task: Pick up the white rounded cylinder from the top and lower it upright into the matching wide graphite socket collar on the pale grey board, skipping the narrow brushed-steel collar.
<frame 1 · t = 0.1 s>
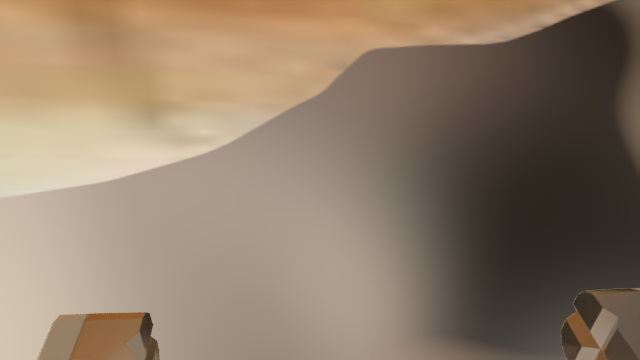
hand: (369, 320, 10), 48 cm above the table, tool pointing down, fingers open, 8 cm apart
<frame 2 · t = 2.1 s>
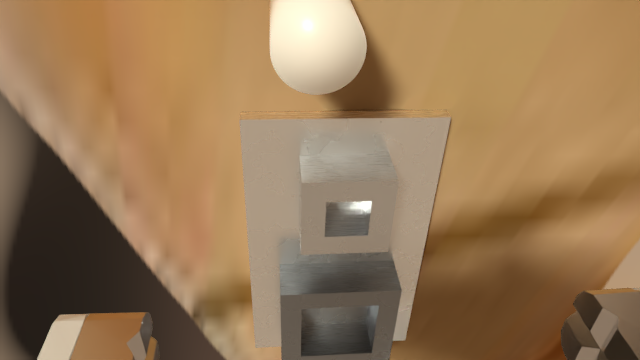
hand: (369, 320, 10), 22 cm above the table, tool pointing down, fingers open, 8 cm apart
fitting board: (336, 241, 38), on the table
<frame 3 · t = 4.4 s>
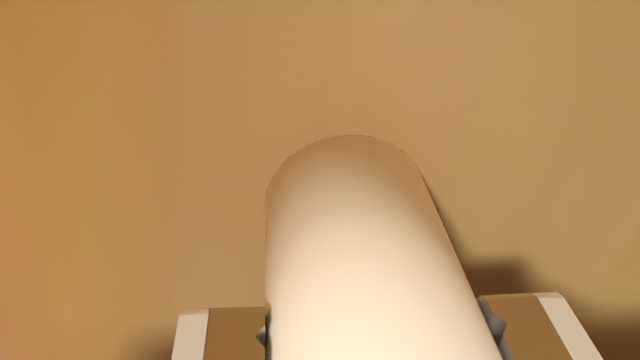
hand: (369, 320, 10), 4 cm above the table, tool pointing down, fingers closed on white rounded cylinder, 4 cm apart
white rounded cylinder: (345, 204, 13), on the table, touching gripper
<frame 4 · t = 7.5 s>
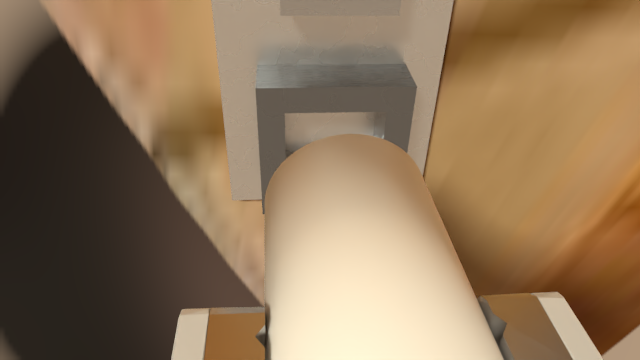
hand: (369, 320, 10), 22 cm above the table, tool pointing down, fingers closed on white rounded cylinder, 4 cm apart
fitting board: (331, 37, 29), on the table
white rounded cylinder: (345, 203, 13), point 19 cm above the table, touching gripper
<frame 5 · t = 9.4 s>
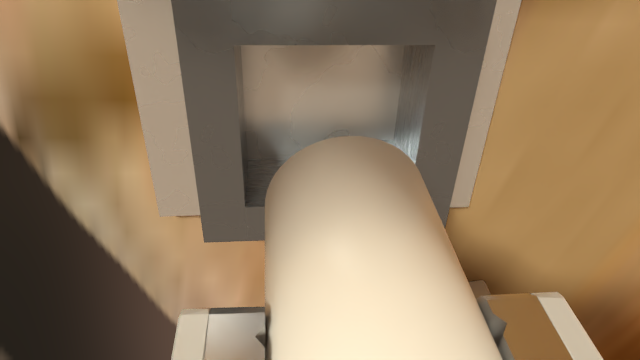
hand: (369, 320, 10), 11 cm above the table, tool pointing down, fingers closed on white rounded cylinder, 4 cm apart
white rounded cylinder: (345, 205, 13), point 8 cm above the table, touching gripper
when the fingers open (6 cm above the table, at t = 11.0 s): white rounded cylinder stays where it is, resting on fitting board.
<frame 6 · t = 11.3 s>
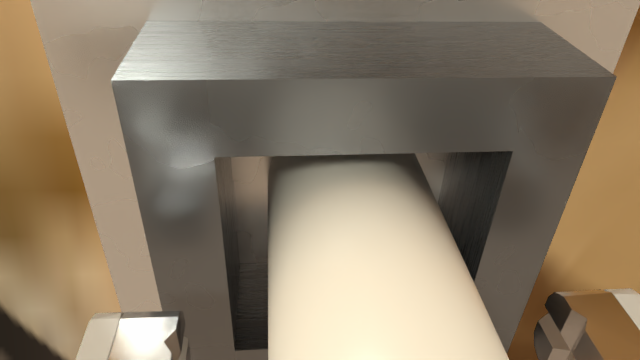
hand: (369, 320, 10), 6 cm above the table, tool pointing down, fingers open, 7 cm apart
white rounded cylinder: (343, 182, 13), point 1 cm above the table, touching fitting board
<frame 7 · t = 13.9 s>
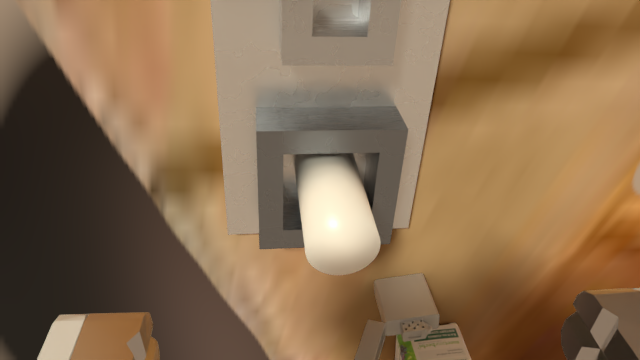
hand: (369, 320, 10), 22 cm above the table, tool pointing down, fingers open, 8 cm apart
syrup box: (423, 343, 47), on the table
fitting board: (326, 81, 31), on the table
white rounded cylinder: (325, 165, 33), point 1 cm above the table, touching fitting board
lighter: (380, 284, 42), on the table
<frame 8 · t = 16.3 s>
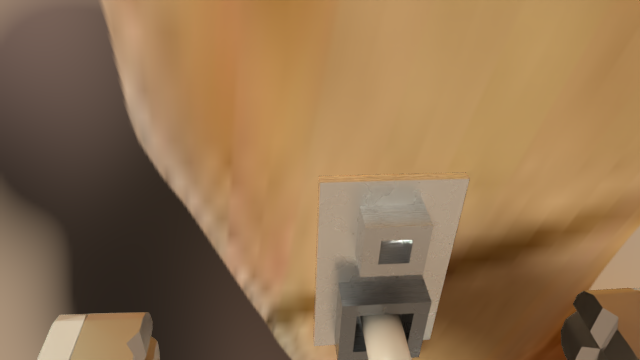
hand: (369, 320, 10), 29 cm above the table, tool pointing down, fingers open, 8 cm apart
fitting board: (380, 264, 50), on the table
white rounded cylinder: (378, 309, 52), point 1 cm above the table, touching fitting board
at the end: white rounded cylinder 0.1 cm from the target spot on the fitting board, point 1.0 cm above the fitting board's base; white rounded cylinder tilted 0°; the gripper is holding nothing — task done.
